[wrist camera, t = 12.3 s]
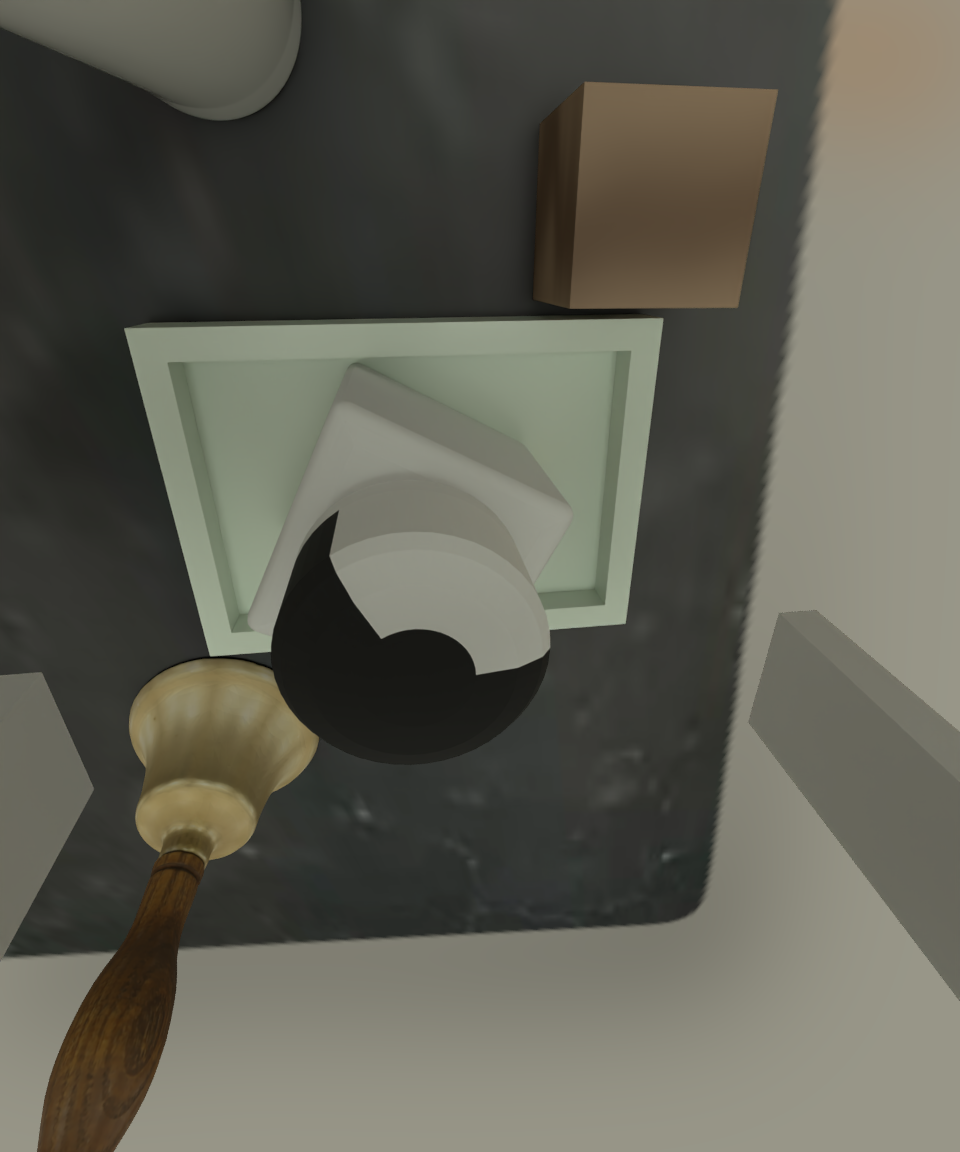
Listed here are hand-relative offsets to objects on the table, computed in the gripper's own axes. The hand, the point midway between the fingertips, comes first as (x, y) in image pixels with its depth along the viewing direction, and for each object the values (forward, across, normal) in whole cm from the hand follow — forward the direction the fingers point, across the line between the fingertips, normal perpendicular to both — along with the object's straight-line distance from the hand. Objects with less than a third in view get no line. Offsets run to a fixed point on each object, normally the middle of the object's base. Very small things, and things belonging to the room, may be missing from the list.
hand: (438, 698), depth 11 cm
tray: (+14, 0, -1) cm, 14 cm away
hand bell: (+14, -9, -12) cm, 21 cm away
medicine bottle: (+13, 0, -1) cm, 13 cm away
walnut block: (+14, +7, +8) cm, 18 cm away
